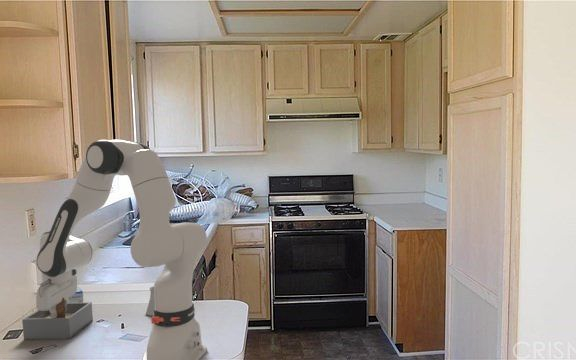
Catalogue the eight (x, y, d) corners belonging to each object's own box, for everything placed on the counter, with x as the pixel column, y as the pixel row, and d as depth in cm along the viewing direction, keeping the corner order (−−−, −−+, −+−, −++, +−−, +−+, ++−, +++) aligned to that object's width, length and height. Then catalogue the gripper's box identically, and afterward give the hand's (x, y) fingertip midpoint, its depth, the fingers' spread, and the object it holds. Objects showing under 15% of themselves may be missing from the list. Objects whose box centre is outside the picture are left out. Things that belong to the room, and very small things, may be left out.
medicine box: (67, 309, 181) (66, 288, 181) (79, 307, 184) (78, 286, 183) (72, 315, 175) (70, 293, 174) (84, 312, 178) (83, 290, 177)
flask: (167, 309, 177) (166, 284, 177) (160, 316, 170) (159, 290, 170) (149, 309, 178) (148, 284, 177) (142, 316, 171) (140, 290, 170)
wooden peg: (62, 328, 158) (60, 299, 158) (50, 328, 158) (48, 300, 158) (68, 323, 162) (66, 296, 162) (57, 323, 162) (55, 296, 162)
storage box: (70, 339, 152) (69, 318, 152) (23, 339, 153) (22, 319, 152) (92, 320, 168) (91, 302, 168) (50, 321, 169) (49, 303, 168)
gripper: (48, 284, 149) (51, 325, 150) (79, 268, 169) (81, 304, 170) (29, 284, 149) (32, 326, 150) (62, 268, 169) (65, 304, 170)
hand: (59, 314), depth 160 cm, fingers closed on wooden peg, 4 cm apart
